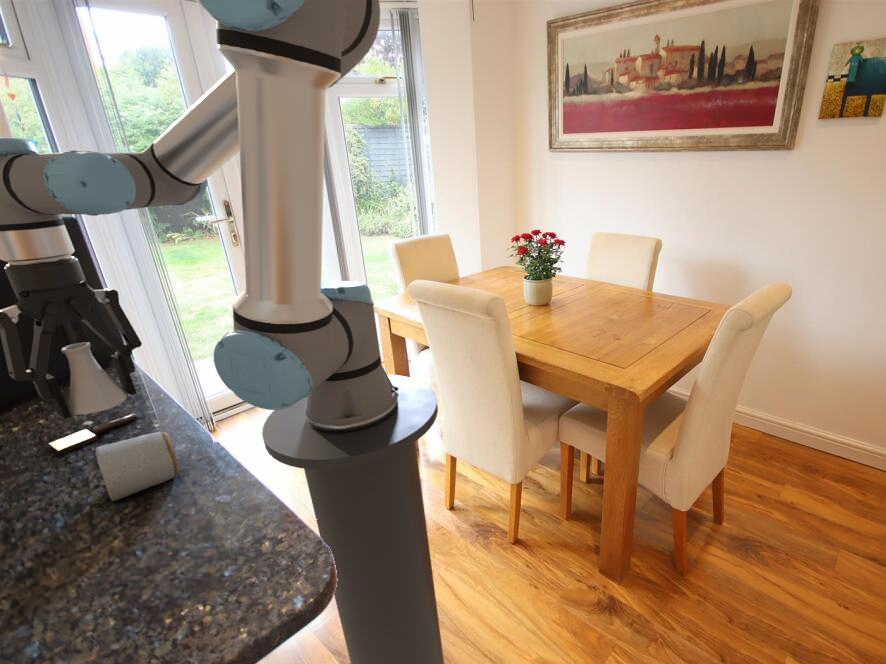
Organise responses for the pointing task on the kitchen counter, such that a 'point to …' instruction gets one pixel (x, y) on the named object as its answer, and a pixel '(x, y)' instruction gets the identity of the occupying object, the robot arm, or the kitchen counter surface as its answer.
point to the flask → (90, 382)
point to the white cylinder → (137, 463)
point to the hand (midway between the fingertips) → (99, 403)
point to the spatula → (86, 436)
